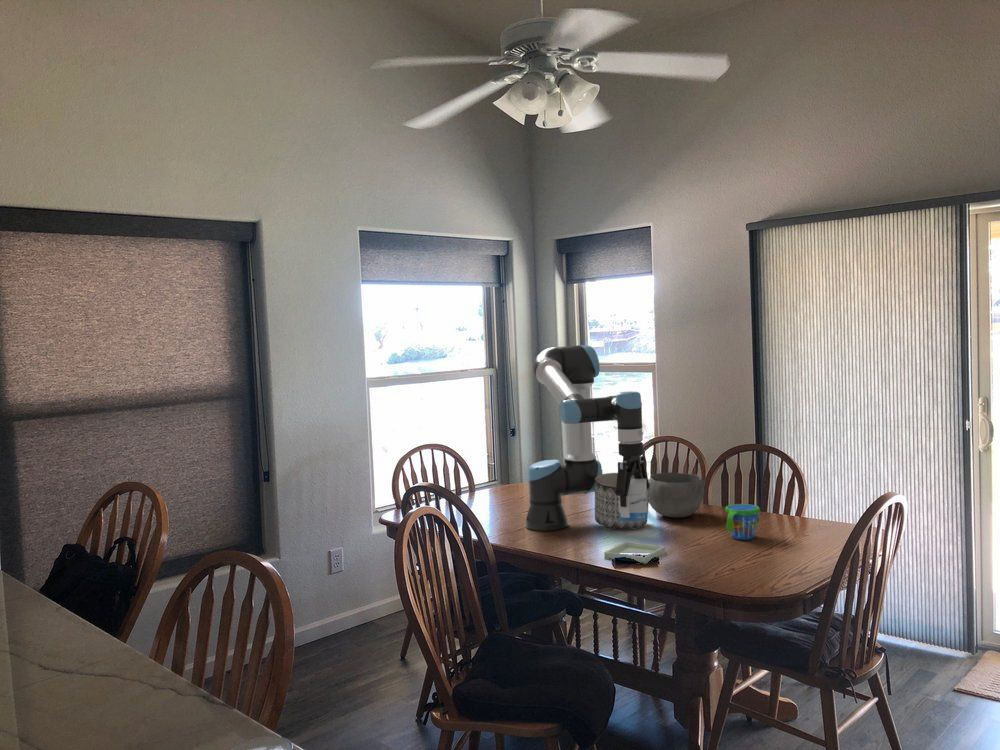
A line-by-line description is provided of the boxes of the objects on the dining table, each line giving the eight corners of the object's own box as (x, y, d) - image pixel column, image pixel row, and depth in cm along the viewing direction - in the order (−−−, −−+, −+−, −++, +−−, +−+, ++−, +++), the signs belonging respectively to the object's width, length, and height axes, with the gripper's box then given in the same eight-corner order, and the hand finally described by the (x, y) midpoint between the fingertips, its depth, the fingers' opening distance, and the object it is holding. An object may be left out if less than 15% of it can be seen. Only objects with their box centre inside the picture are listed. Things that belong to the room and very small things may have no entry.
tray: (604, 558, 253) (604, 552, 253) (625, 547, 265) (625, 541, 265) (646, 564, 245) (645, 557, 245) (665, 552, 256) (665, 546, 256)
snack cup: (746, 530, 278) (745, 500, 278) (772, 536, 269) (771, 505, 269) (714, 539, 269) (713, 508, 269) (740, 545, 261) (739, 513, 260)
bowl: (642, 521, 298) (640, 480, 297) (654, 509, 317) (652, 470, 316) (700, 524, 290) (698, 481, 289) (708, 511, 309) (707, 471, 308)
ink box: (647, 521, 249) (645, 483, 249) (618, 521, 251) (617, 483, 250) (648, 514, 258) (646, 477, 257) (620, 514, 259) (619, 478, 259)
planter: (633, 537, 280) (635, 490, 277) (583, 526, 290) (585, 481, 288) (657, 523, 295) (658, 478, 293) (608, 512, 306) (610, 469, 303)
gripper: (624, 447, 242) (627, 522, 243) (658, 437, 260) (661, 506, 261) (601, 446, 246) (605, 520, 247) (636, 436, 265) (639, 505, 266)
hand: (633, 513), depth 254 cm, fingers closed on ink box, 10 cm apart
